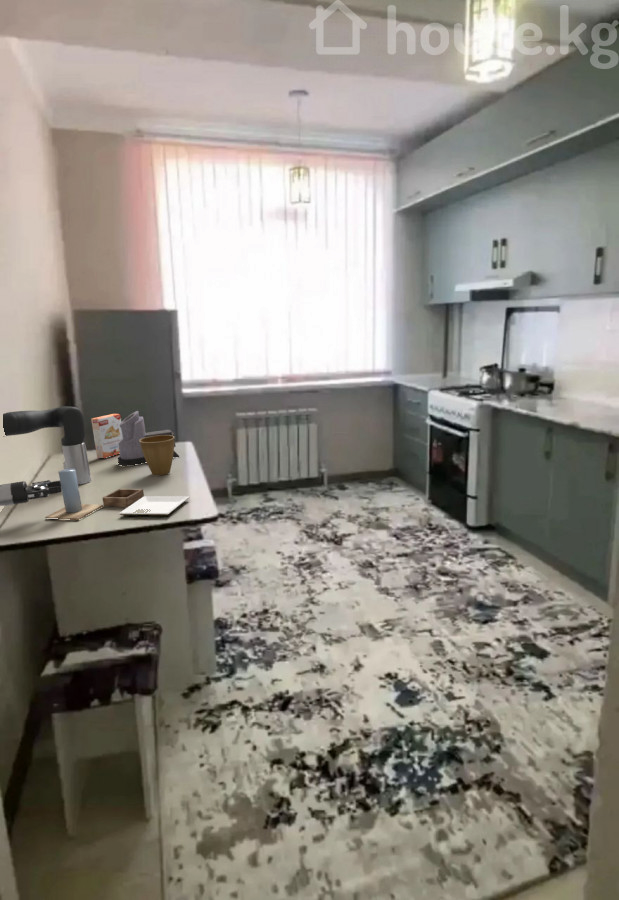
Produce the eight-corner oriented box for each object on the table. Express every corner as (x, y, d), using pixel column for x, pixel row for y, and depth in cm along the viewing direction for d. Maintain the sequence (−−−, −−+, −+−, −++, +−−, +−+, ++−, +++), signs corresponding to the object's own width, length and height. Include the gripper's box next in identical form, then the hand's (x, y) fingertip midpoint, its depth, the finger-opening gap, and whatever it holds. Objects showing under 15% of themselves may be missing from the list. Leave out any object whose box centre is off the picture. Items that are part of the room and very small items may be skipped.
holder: (103, 506, 212) (102, 497, 211) (120, 497, 222) (119, 488, 221) (128, 507, 209) (127, 498, 208) (144, 498, 219) (143, 489, 218)
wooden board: (45, 519, 202) (44, 517, 202) (71, 506, 215) (71, 503, 215) (78, 521, 198) (78, 518, 198) (103, 507, 211) (102, 504, 211)
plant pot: (149, 480, 243) (144, 444, 239) (140, 473, 255) (135, 438, 252) (183, 473, 250) (178, 438, 246) (173, 467, 263) (168, 433, 259)
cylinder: (62, 511, 206) (55, 471, 203) (77, 507, 211) (70, 467, 207) (70, 514, 203) (63, 473, 200) (85, 509, 207) (78, 469, 204)
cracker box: (104, 459, 287) (98, 418, 282) (96, 458, 291) (90, 418, 286) (126, 452, 299) (120, 413, 294) (118, 452, 302) (112, 413, 297)
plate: (190, 501, 212) (189, 495, 212) (168, 519, 194) (167, 513, 194) (144, 500, 216) (143, 495, 216) (119, 518, 198) (118, 513, 198)
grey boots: (117, 468, 268) (109, 417, 262) (114, 461, 283) (106, 412, 277) (181, 458, 279) (174, 408, 273) (175, 451, 293) (169, 404, 288)
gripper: (17, 498, 206) (65, 490, 211) (10, 510, 193) (62, 501, 197) (13, 478, 204) (61, 471, 209) (6, 488, 191) (58, 481, 196)
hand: (62, 486), depth 203 cm, fingers open, 8 cm apart
